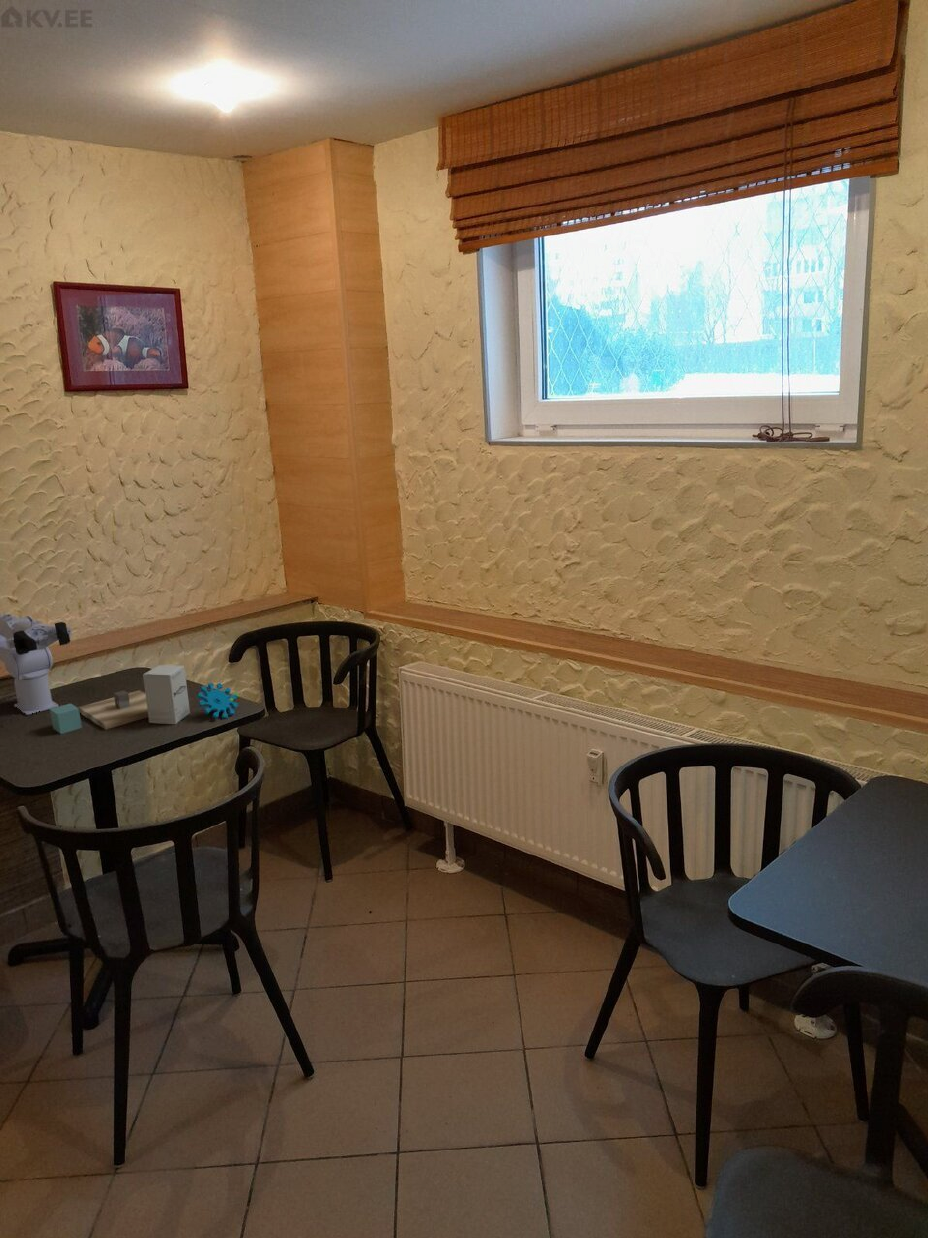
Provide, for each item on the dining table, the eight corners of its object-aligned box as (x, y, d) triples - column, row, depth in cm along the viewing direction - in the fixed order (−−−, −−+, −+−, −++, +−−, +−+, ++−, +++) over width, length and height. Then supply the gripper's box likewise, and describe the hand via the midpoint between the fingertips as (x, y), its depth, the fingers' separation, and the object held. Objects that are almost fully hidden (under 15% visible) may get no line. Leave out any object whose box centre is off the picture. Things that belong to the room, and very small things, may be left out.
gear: (208, 719, 223) (193, 684, 227) (199, 731, 227) (184, 696, 230) (248, 711, 231) (233, 677, 234) (238, 723, 235) (223, 690, 238)
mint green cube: (53, 728, 225) (49, 709, 224) (73, 722, 229) (70, 703, 227) (60, 734, 222) (57, 714, 220) (81, 727, 225) (78, 708, 224)
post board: (79, 712, 235) (76, 694, 233) (140, 695, 245) (137, 677, 244) (105, 729, 223) (102, 710, 222) (168, 710, 234) (165, 692, 232)
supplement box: (176, 725, 225) (169, 675, 221) (148, 723, 226) (141, 674, 223) (191, 713, 232) (185, 665, 228) (164, 712, 233) (157, 664, 230)
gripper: (-3, 625, 224) (16, 632, 214) (58, 612, 233) (79, 618, 224) (3, 653, 226) (22, 661, 216) (64, 639, 235) (84, 647, 225)
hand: (51, 641), depth 220 cm, fingers open, 7 cm apart
